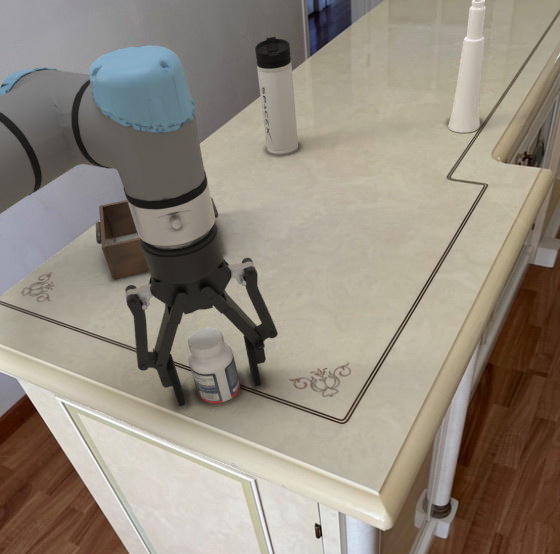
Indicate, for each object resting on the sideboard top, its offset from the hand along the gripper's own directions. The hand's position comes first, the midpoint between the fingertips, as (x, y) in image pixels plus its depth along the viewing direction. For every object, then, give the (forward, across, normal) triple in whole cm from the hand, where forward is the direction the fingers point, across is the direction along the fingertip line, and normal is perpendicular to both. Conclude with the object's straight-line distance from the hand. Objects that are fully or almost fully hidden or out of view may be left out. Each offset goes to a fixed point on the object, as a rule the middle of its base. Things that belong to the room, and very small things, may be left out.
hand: (219, 390), depth 72 cm
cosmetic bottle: (0, +60, +55) cm, 82 cm away
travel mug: (0, +24, +61) cm, 66 cm away
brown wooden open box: (0, -3, +35) cm, 35 cm away
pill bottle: (+1, 0, 0) cm, 1 cm away
